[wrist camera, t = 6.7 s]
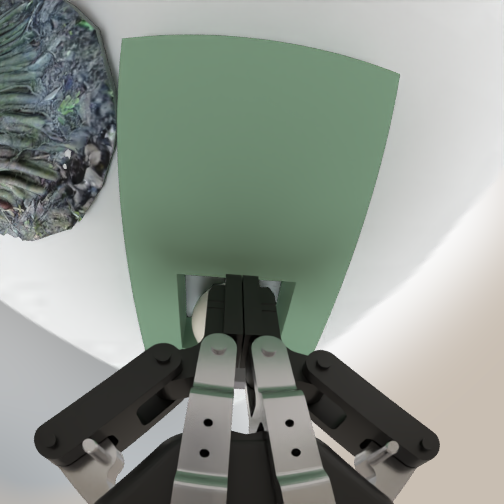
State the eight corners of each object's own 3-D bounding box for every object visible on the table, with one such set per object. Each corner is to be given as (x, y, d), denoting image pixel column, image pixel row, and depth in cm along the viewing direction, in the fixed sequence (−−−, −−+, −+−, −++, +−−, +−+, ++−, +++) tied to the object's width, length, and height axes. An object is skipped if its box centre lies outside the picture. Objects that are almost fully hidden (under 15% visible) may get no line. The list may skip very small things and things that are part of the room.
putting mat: (143, 45, 11) (102, 33, 7) (372, 72, 12) (424, 76, 8) (154, 328, 22) (142, 380, 18) (301, 337, 23) (311, 388, 19)
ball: (189, 373, 17) (195, 320, 21) (267, 376, 18) (261, 323, 22) (186, 318, 14) (195, 265, 19) (282, 323, 15) (271, 269, 19)
